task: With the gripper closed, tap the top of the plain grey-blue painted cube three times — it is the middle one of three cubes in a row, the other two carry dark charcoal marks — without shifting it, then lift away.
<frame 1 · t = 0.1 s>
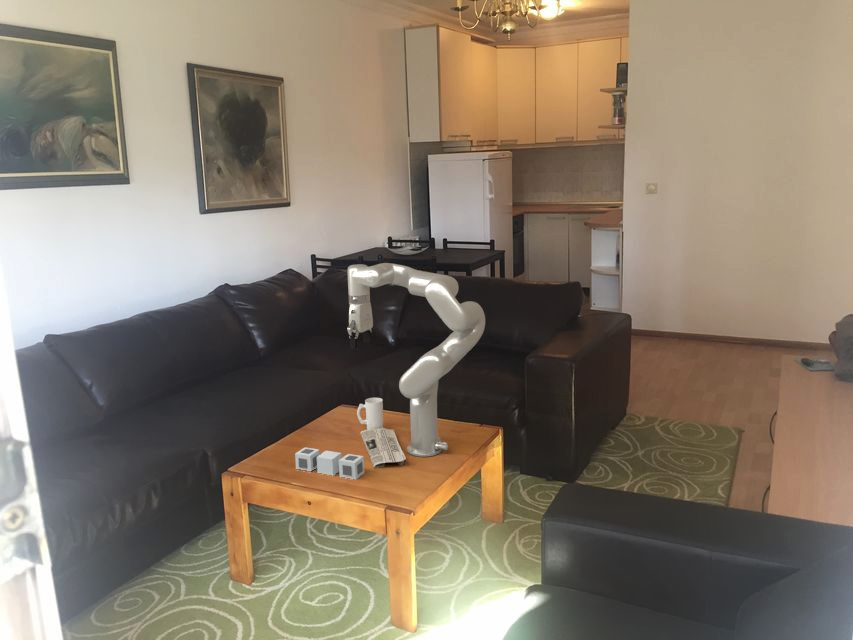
hand: (361, 346, 265), 37 cm above the table, tool pointing down, fingers open, 9 cm apart
marked block near: (352, 475, 244), on the table
newspaper: (384, 451, 265), on the table
mug: (370, 430, 285), on the table
marked block far: (308, 468, 250), on the table
plain block: (329, 471, 247), on the table
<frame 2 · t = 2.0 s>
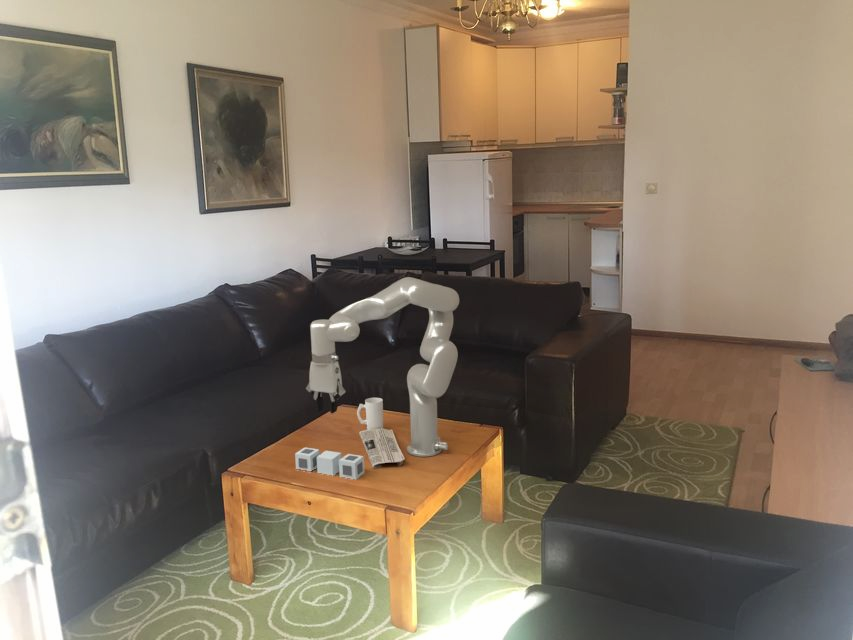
hand: (326, 410, 243), 21 cm above the table, tool pointing down, fingers open, 4 cm apart
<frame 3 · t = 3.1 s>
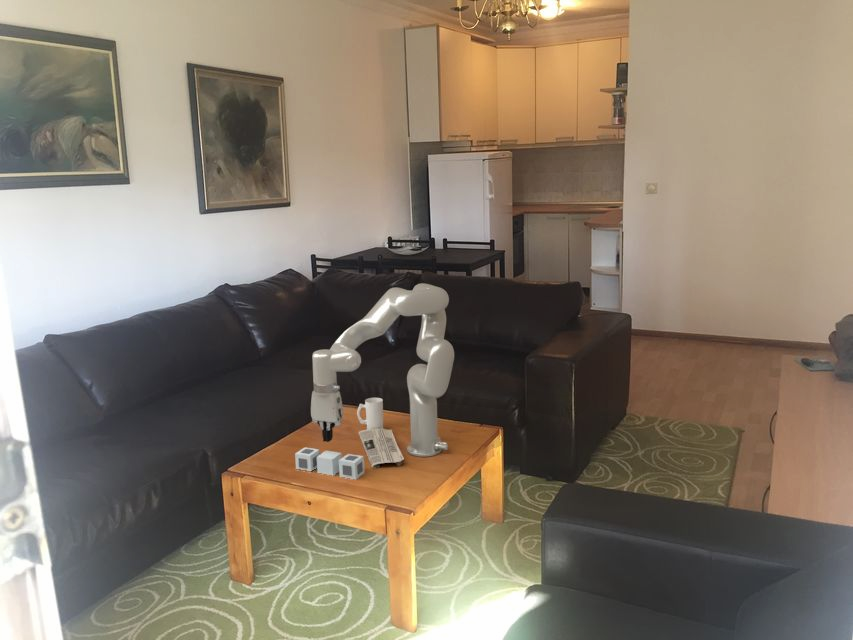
hand: (327, 440, 245), 11 cm above the table, tool pointing down, fingers closed
nothing on the table moved.
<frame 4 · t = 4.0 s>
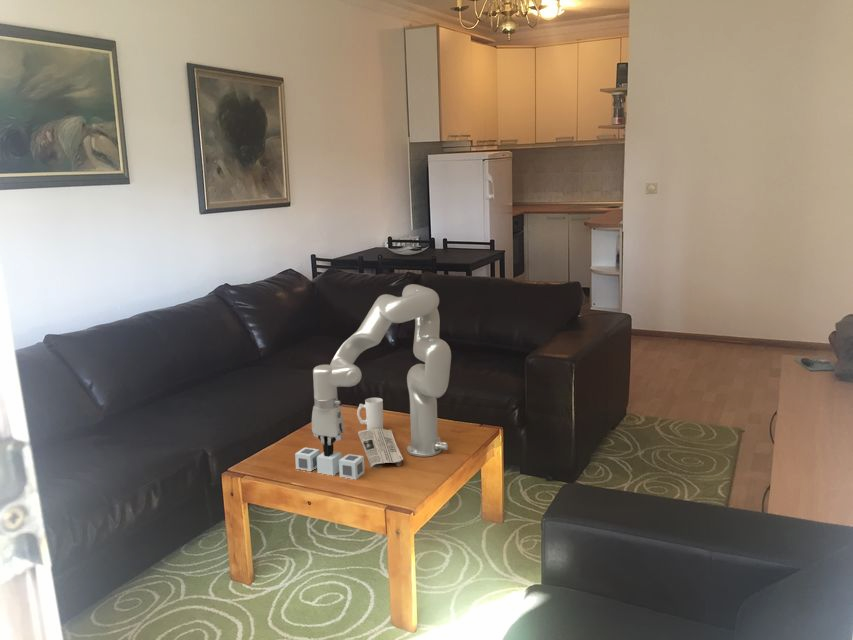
hand: (328, 454, 246), 6 cm above the table, tool pointing down, fingers closed
plain block: (329, 471, 247), on the table, touching gripper
everything else where it was.
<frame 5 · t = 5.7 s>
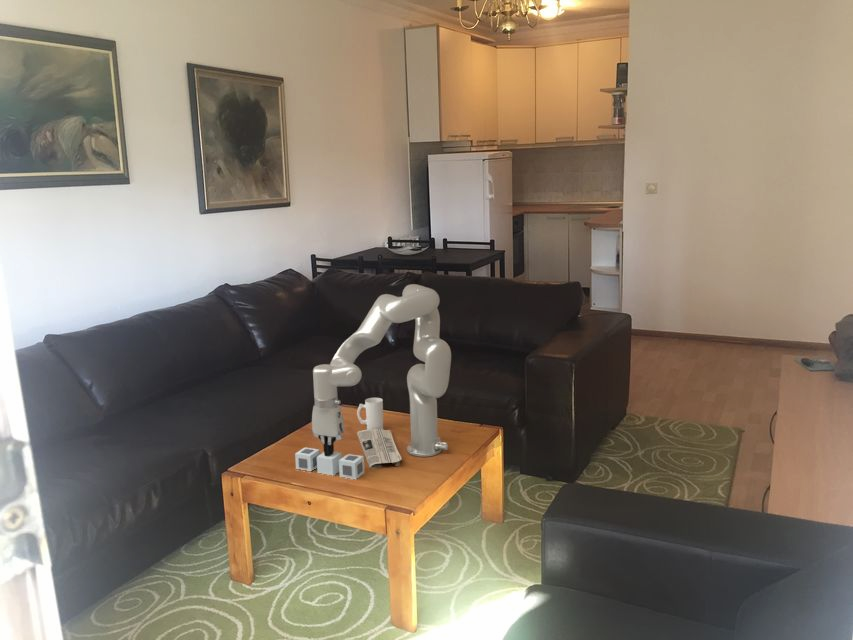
hand: (329, 454, 246), 6 cm above the table, tool pointing down, fingers closed
plain block: (329, 471, 247), on the table
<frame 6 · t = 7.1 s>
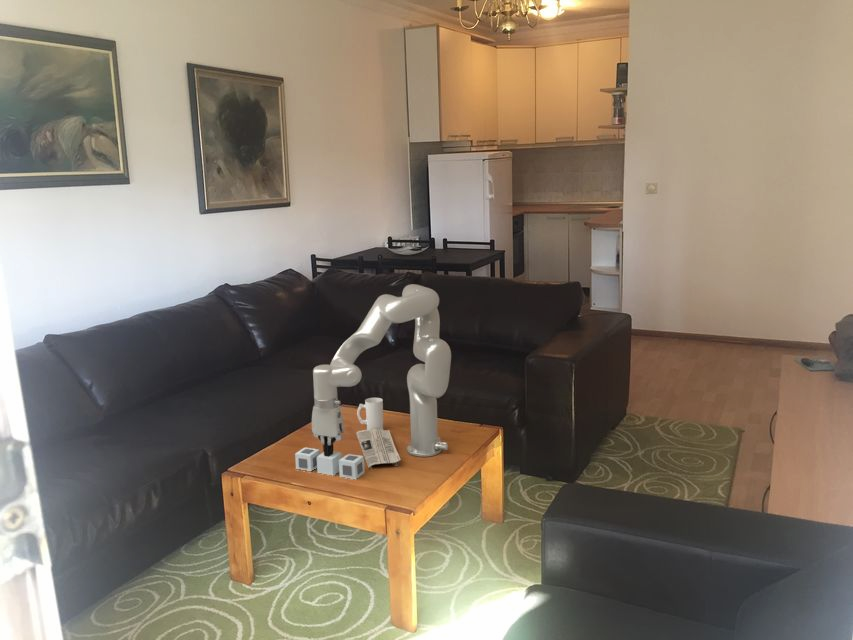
hand: (328, 454, 246), 6 cm above the table, tool pointing down, fingers closed
plain block: (329, 471, 247), on the table, touching gripper
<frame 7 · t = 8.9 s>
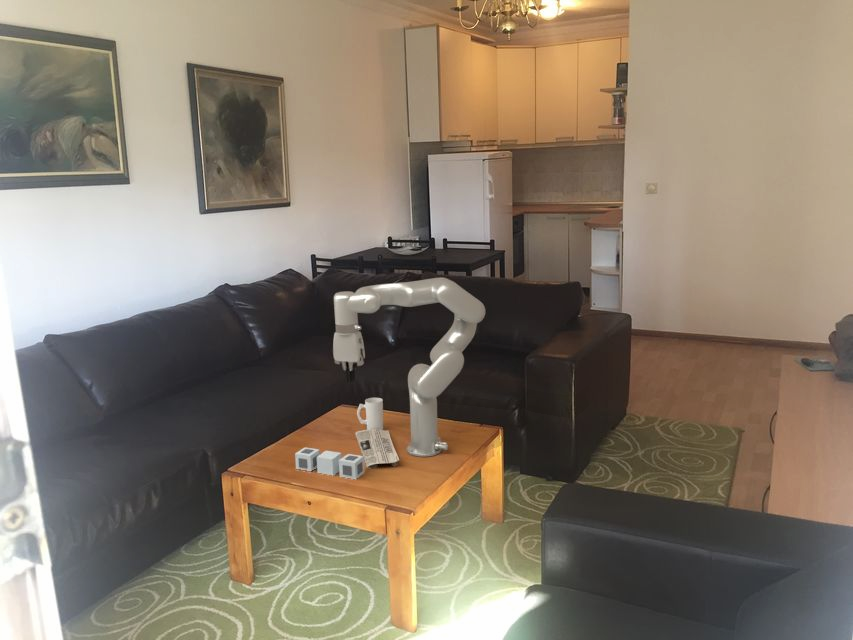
hand: (350, 380, 251), 29 cm above the table, tool pointing down, fingers closed
plain block: (329, 471, 247), on the table
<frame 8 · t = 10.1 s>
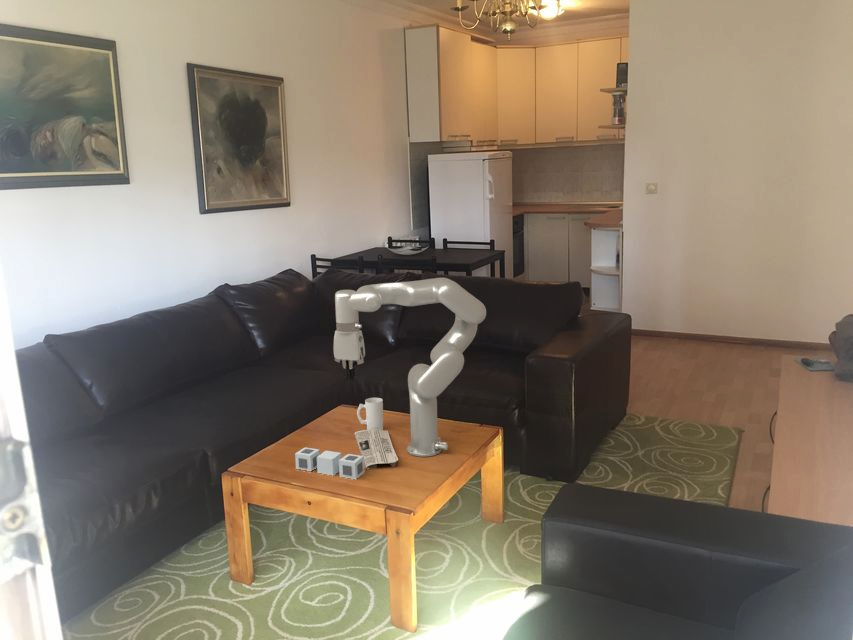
hand: (350, 379, 251), 29 cm above the table, tool pointing down, fingers closed
at the end: plain block moved 0.1 cm from its start; plain block tilted 0°; plain block touching table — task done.
